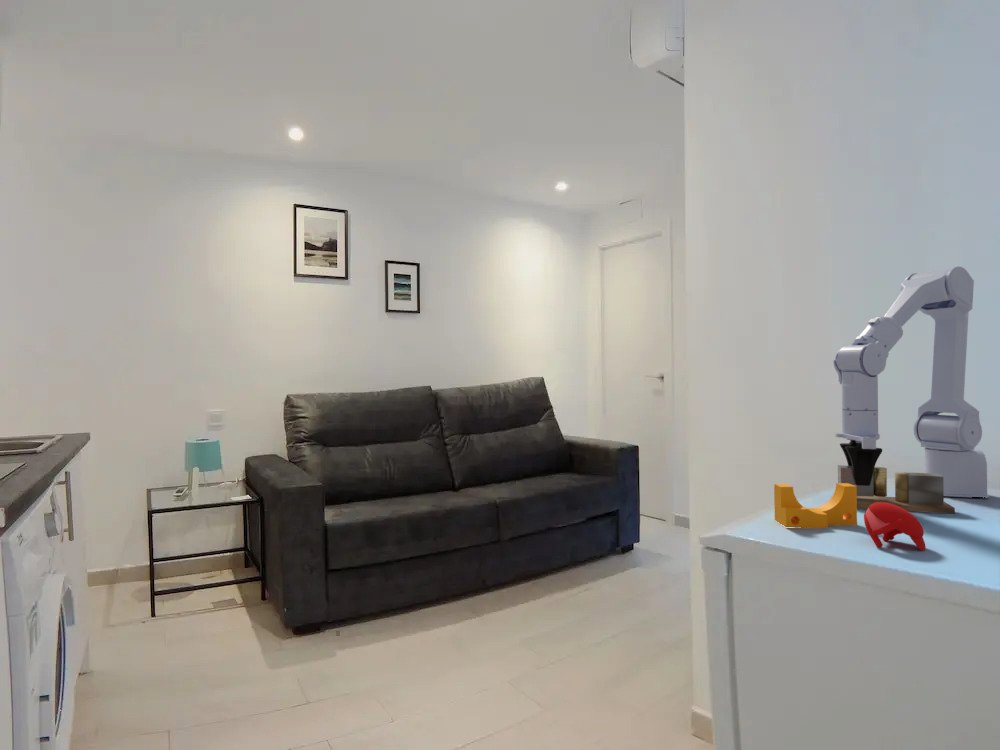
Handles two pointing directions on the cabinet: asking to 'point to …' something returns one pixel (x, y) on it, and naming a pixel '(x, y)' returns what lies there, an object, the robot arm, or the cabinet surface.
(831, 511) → the pipe clamp
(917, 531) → the red animal figurine
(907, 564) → the cabinet surface
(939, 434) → the robot arm
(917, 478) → the hinge jig
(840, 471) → the grey post
